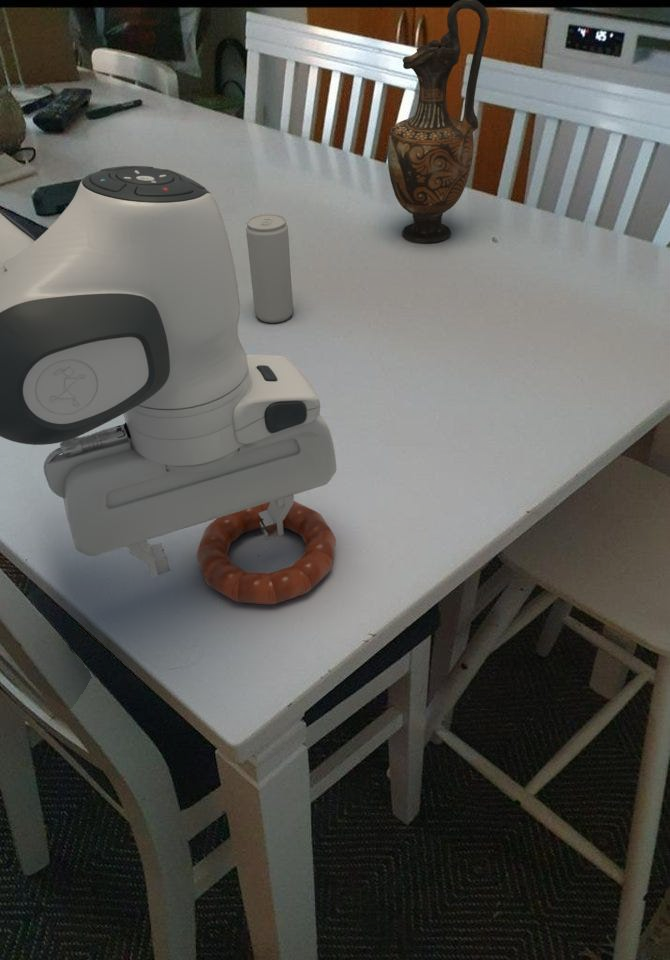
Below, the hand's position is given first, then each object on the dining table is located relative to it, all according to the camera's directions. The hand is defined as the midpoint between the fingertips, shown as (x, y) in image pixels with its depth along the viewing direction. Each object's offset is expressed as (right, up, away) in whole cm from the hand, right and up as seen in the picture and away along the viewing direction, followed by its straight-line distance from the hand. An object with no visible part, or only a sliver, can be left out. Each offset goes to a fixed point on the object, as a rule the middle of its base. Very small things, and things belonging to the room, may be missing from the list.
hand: (216, 550), depth 65 cm
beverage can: (+2, +26, +36) cm, 44 cm away
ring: (+4, 0, +2) cm, 4 cm away
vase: (+23, +41, +53) cm, 71 cm away
